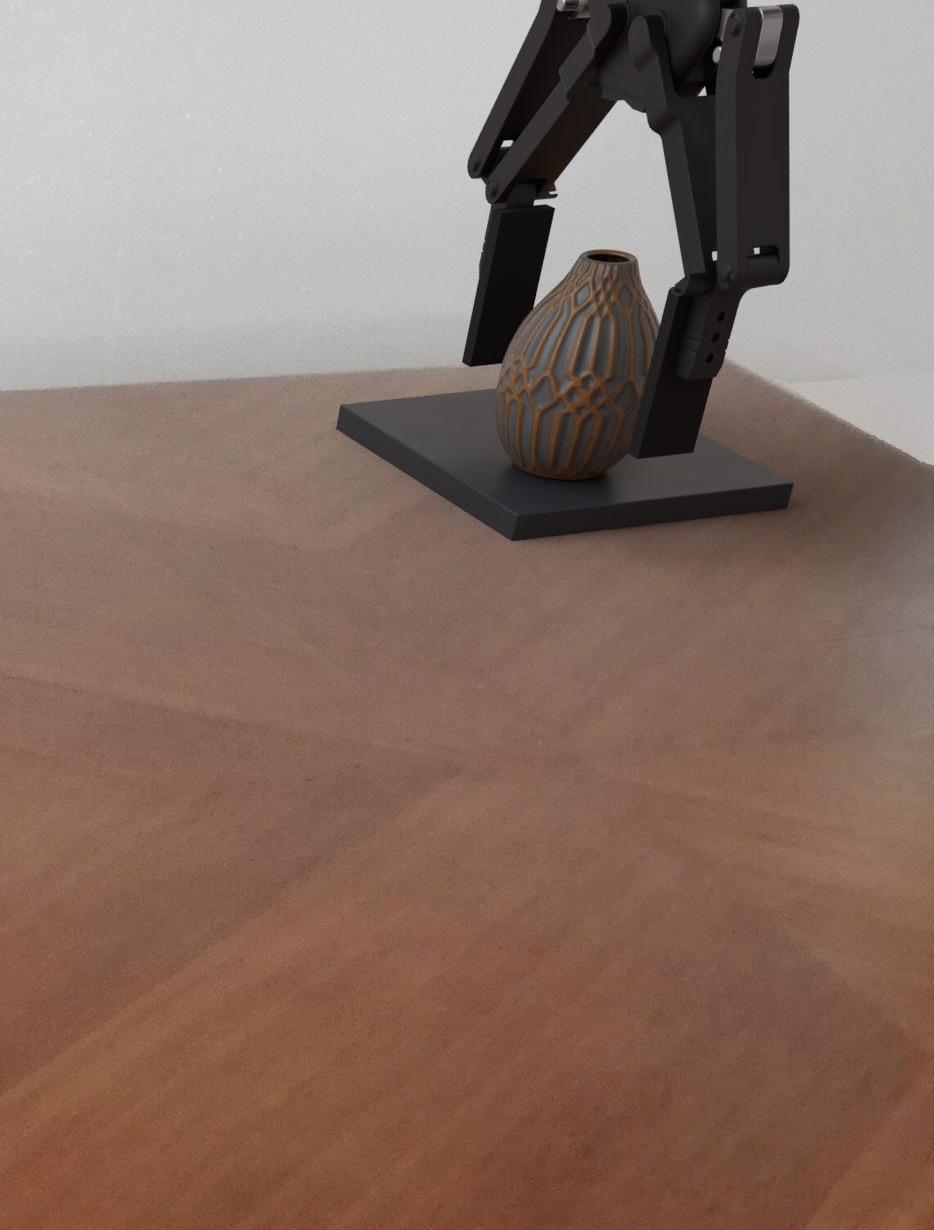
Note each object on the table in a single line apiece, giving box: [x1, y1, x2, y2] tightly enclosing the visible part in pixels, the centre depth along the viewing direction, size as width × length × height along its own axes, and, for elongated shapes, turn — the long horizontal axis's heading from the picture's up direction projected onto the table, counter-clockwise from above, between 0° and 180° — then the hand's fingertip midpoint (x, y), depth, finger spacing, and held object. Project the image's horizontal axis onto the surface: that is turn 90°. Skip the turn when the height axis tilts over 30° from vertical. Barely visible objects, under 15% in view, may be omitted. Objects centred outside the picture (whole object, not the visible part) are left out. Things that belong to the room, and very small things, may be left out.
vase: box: [495, 248, 661, 480], centre depth 109 cm, size 7×7×9 cm
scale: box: [335, 387, 795, 542], centre depth 114 cm, size 16×14×3 cm
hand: (572, 407), depth 110 cm, fingers open, 13 cm apart
